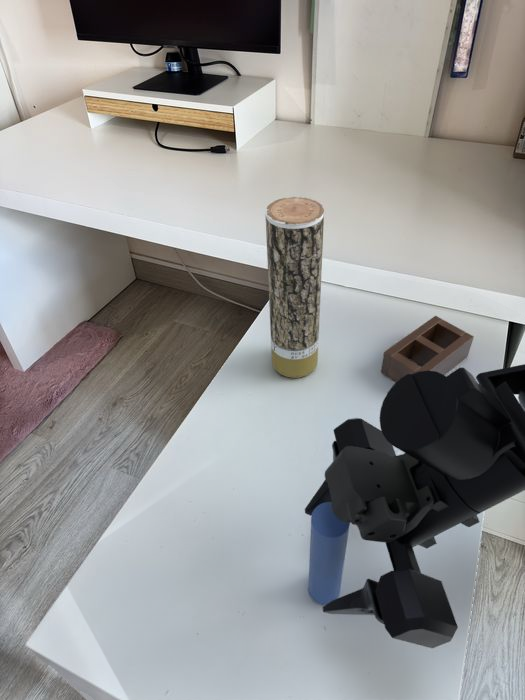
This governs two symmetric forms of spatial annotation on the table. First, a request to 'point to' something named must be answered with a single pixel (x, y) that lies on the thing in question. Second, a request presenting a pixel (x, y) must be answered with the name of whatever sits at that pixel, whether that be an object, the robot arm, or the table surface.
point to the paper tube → (294, 282)
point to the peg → (326, 554)
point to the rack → (427, 350)
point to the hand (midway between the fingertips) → (316, 558)
